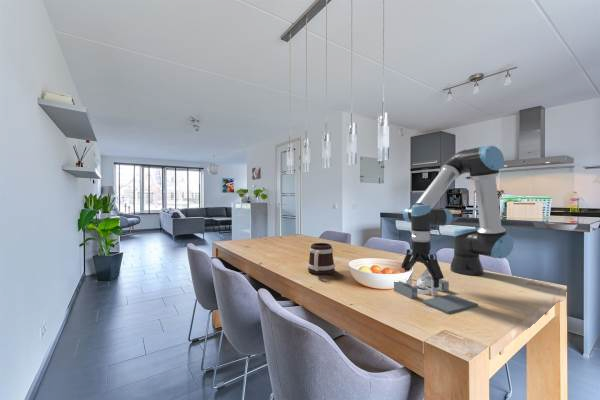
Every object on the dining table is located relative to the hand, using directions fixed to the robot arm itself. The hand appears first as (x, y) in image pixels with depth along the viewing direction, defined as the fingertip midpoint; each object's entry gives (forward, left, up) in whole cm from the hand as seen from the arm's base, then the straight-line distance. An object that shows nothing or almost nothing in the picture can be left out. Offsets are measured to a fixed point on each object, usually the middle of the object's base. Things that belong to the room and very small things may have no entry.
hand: (421, 289), depth 116 cm
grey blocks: (0, 0, -1) cm, 1 cm away
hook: (0, 0, -1) cm, 1 cm away
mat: (+2, +15, -1) cm, 15 cm away
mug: (+26, -44, -1) cm, 51 cm away
